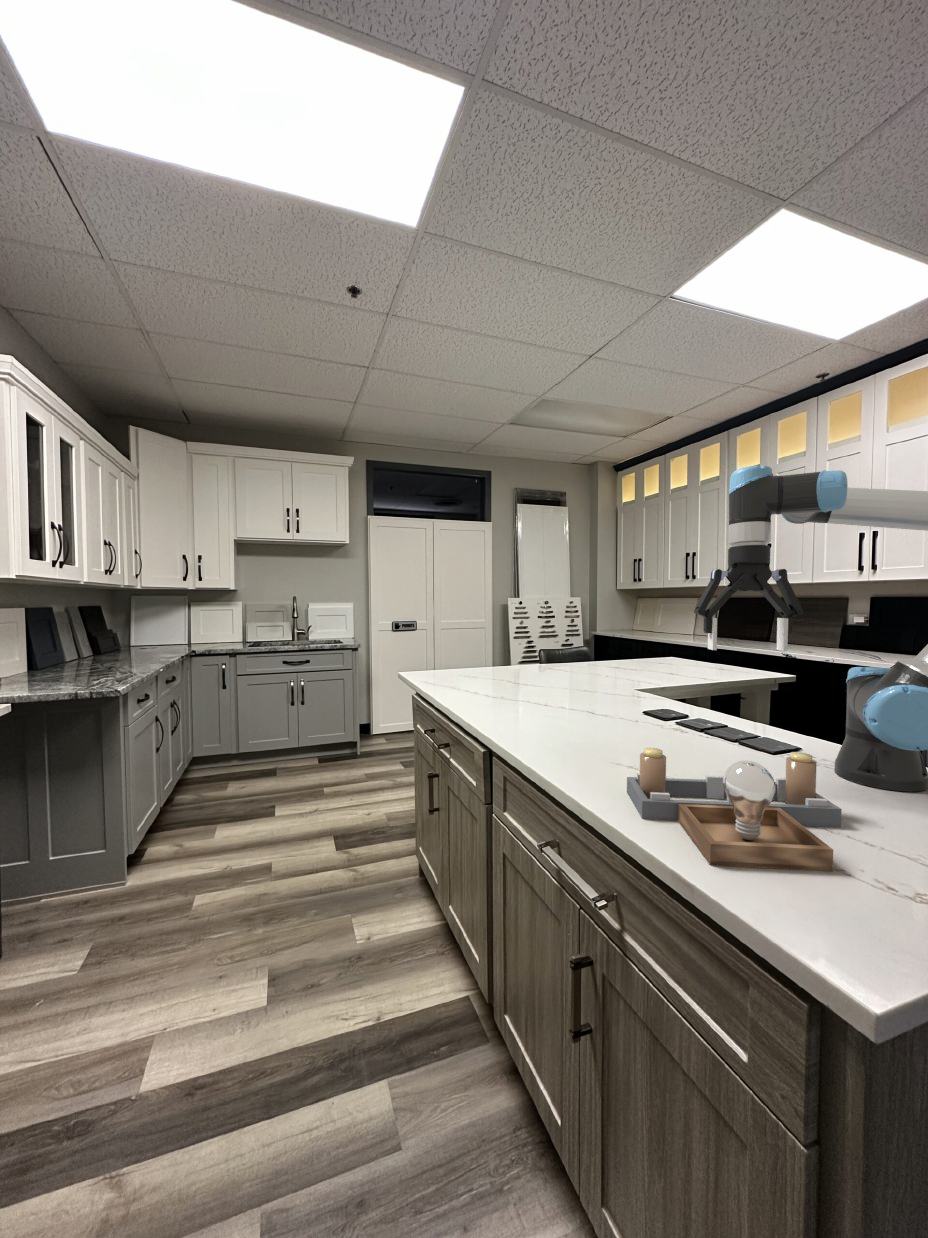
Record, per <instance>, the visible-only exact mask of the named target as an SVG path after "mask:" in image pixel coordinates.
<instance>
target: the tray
mask: <svg viewBox="0 0 928 1238" xmlns="http://www.w3.org/2000/svg"><path fill="white" fill-rule="evenodd" d="M736 819H737V818H736V816H735V815H734V811H733V806H720V805H695V804H678V820H677V822H678V823H679V825H680V827H682V829H683V830H684V832H685V833H686V834H687V836H688V837H689V838H690V840H691V841H692V842H693V844H694V845H695V846H696V849H697V850H698V851H699V852H700V854H701V855H702V856H703V857H704V860H706V861H707V864H709V866H721V867H737V868H738V867H739V868H740V867H742V868H746V867H747V868H760V869H761V868H763V869H777V870H778V869H780V870H783V869H784V870H797V871H798V870H799V871H800V870H803V871H815V872H816V871H817V872H818V871H819V872H834V849H833V848H832V847H831V846H829V845H828V844H827V843H826V842H824V841H823V840H822V839H821V838H819V836H817V835H815V834H814V833H813V832H812V831H810V829H809V828H806V827H805V826H803V825H801V824H800V823H799V822H797V821H796V820H795V819H794V818H792V817H791V816H790V815H789V814H787V813H786V812H785V811H783V810H782V809H781V808H770V807H767V808H766V809H765V811H764V815H763V819H762V820H761V822H760V824H761V826H760V828H761V830H760V835H759V836H758V837H757V838H756V839H754V840H752V841H746V840H744V839H743V838H742V837H741V836H740V835H739V834H738V833H737V831H736V830H735V828H736V826H735V824H736Z"/></svg>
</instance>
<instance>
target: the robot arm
mask: <svg viewBox="0 0 928 1238" xmlns="http://www.w3.org/2000/svg"><path fill="white" fill-rule="evenodd" d="M729 478H730V479H729V489H728V490H729V491H728V537H727V538H728V541H727V543H728V545H730V547H729V548H728V550H727V569H726V570H722V569H720V568H718V569H717V568H715V569H713V570H711V573H710V578H709V582H708V584H707V586H706V587H705V589H704V591H703V593H702V595H701V597H700V599H699V600H698V602H697V604H696V606H695V608H694V610H693V612H694V614H696V615H699V616H701V617H702V618H703V633H704V634H707V650H711V651H717V650H718V648H717V645H718V643H717V642H718V640H717V639H718V638H717V637H718V618H717V617H714V616H715V615H716V614H717V613H718V611H719V610H720V609H722V607H723V606H724V605H725V604H726V603H727V602H728V600H730V598H731V597H732V596H733V595H734V594H735V593H737V592H759V593H760V594H762V596H764V597H765V599H766V600H767V601H768V602H769V603H770V605H771V606H772V607H773V608H774V609H775V610H776V611H777V612H778V614H779V615H780V616H781V617H777V618H776V621H777V622H776V623H777V625H776V650H778V651H782V652H787V651H788V644H789V643H788V642H789V639H788V637H789V636H788V635H791V634H792V632H793V619H794V618H795V619H796V617H797V616H800V615H803V614H804V612H805V611H804V610H803V607H802V605H801V603H800V601H799V599H798V597H797V595H796V593H795V592H794V589H793V587H792V586H791V584H790V581H789V579H788V578H789V577H788V570H787V569H785V568H780V569H776V570H771V567H770V565H771V546H770V545H768V544H770V543H771V541H772V534H771V533H772V515H781V516H782V518H784V520H785V521H787V522H788V523H791V524H795V525H797V524H799V525H802V524H806V523H815V524H833V525H834V524H835V525H847V526H859V527H860V526H861V527H874V528H887V529H901V530H913V531H925V532H926V531H927V532H928V490H914V489H913V490H911V489H909V490H908V489H888V488H887V489H886V488H885V489H884V488H868V487H867V488H865V487H864V488H863V487H861V488H860V487H848V476H847V473H846V472H845V471H844V470H826V469H825V470H824V469H823V470H822V471H814V472H813V471H812V472H805V473H804V472H803V473H796V474H785V475H774V473H773V468H772V467H770V466H768V465H750V466H745V467H741V468H738V469H736V470H734V471H733V472H732V473H731V475H730V477H729ZM725 578H726V579H727V580H728V582H729V583H728V584H727V585H726V586H725V587H724V589H723V591H722V592H721V593H720V594H719V595H718V596H717V597H715V600H714V601H713V602H711V601H712V599H713V597H714V595H715V594H716V591H717V590H718V587H719V586H720V583H721V581H723V580H724V579H725ZM771 578H772V580H773V581H775V583H776V586H777V588H778V590H779V593H780V594H781V597H783V600H784V601H783V600H782V598H781V597H780V596H779V595H778V594H777V593H776V592H775V590H774V588H773V587H772V585H770V583H769V582H768V581H769V580H770V579H771ZM710 603H711V604H710ZM709 604H710V605H709ZM845 680H846V681H845V683H846V714H845V717H846V718H845V719H846V720H845V738H844V740H843V743H842V745H841V746H840V749H839V751H838V753H837V756H836V758H835V759H834V773H835V774H836V775H838V776H839V777H841V778H843V779H844V780H848V781H850V782H853V783H857V784H859V785H864V786H867V787H871V788H877V789H882V790H889V791H896V792H897V791H899V792H923V791H926V790H928V770H927V766H926V764H925V761H924V758H923V756H922V752H921V751H928V643H927V644H926V646H924V647H923V648H922V650H921V651H919V653H918V654H917V655H915V657H913V658H906V659H898V660H897V661H896V662H895V663H894V664H893V666H891V667H874V666H872V667H868V666H856V667H855V666H854V667H851V668H849V669H848V671H847V678H846V679H845Z"/></svg>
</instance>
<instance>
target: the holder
mask: <svg viewBox="0 0 928 1238" xmlns="http://www.w3.org/2000/svg"><path fill="white" fill-rule="evenodd" d="M723 778H724V775H722V776H721V775H705V779H704V778H703V779H699V778H696V779H695V778H670V777H669V778H667V777H666V793H657V792H650V799H648V798H647V797H646V795H645V794H644V792H643V791H642V790H641V789H640V772H638V773H636V776H626V794H627V796H628V797H629V799H630V801H631V802H632V804H633V806H634V807H635V809H636V811H637V812H638V814H639V816H640V817H641V819H642V820H662V821H663V820H664V821H667V820H668V821H678V804H695V805H720V806H732V803H731V801H730V800H729V798H728V796H727V794H726V792H725V790H724V787H723ZM774 782H775V786H776V792H775V796H774V799H773V800H772V801H777V802H785V787H786V777H785V778H783V777H780V778H779V777H776V778H775V781H774ZM671 797H678V798H681V797H684V798H703V799H704V798H705V799H710V800H691V799H690V800H689V799H671ZM711 799H713V800H711ZM714 799H716V800H717V799H718V801H715V800H714ZM724 799H726V801H719V800H724ZM768 807H770V808H781V809H782V810H783V811H785V812H786V813H787V814H789V815H790V816H791V817H792V818H794V819H795V820H796V821H797V822H799V823H800V824H801V825H803V826H804V827H805V826H806V827H827V828H829V827H830V828H842V811H843V808H841V807H839V806H838V805H836V804H834V803H833V802H831V801H830V800H828V799H826V798H825V797H823V796H822V795H820V794H818V793H817V792H816V798H806V800H805V805H796V804H785V803H772V802H771V803H770V805H769V806H768Z"/></svg>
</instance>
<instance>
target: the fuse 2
mask: <svg viewBox="0 0 928 1238" xmlns="http://www.w3.org/2000/svg"><path fill="white" fill-rule="evenodd" d="M789 755H790V756H788V757H786V758H785V778H786V787H785V801H784V804H796V805H805V800H806V798H816V793H817V791H816V790H817V761H815V760H814V759H813V755H812V754H809V753H806V752H801V751H800V752H799V751H791V752H790V754H789Z"/></svg>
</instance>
